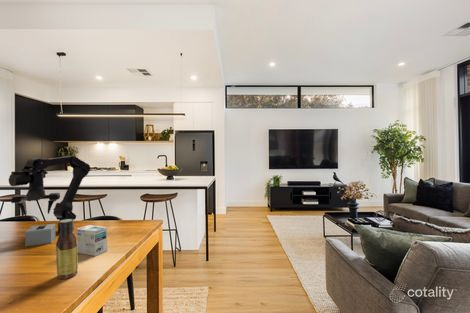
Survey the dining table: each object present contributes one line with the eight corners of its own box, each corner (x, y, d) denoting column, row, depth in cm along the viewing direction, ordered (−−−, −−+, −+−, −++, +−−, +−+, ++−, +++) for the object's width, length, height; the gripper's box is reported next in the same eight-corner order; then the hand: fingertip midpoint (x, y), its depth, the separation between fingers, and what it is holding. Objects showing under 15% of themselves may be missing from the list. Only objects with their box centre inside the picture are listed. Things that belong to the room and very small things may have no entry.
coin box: (55, 237, 132) (55, 223, 132) (51, 243, 124) (51, 228, 124) (31, 240, 128) (31, 226, 128) (25, 246, 120) (25, 231, 120)
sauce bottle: (63, 271, 95) (62, 217, 95) (81, 271, 96) (80, 217, 95) (52, 280, 88) (51, 222, 88) (71, 280, 89) (70, 222, 89)
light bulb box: (108, 250, 115) (107, 226, 115) (95, 256, 109) (95, 231, 108) (89, 247, 119) (89, 224, 118) (76, 253, 112) (75, 228, 112)
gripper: (6, 187, 118) (7, 221, 118) (56, 184, 126) (56, 216, 127) (14, 184, 128) (15, 215, 128) (59, 181, 136) (60, 211, 137)
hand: (37, 214), depth 130 cm, fingers open, 9 cm apart
